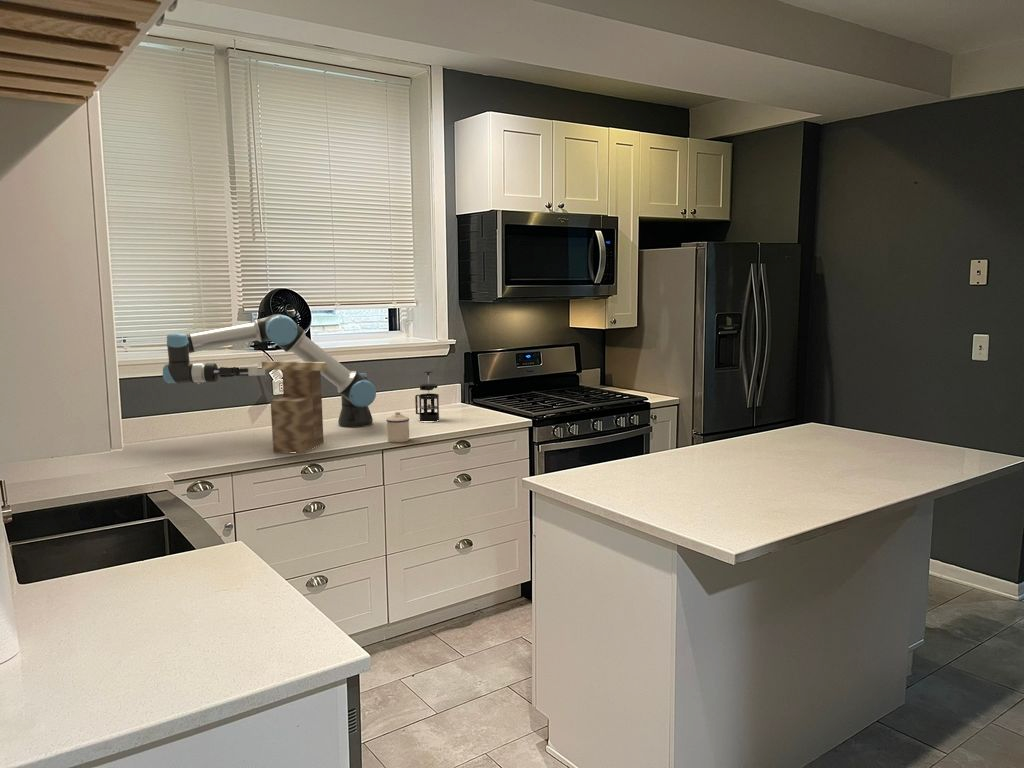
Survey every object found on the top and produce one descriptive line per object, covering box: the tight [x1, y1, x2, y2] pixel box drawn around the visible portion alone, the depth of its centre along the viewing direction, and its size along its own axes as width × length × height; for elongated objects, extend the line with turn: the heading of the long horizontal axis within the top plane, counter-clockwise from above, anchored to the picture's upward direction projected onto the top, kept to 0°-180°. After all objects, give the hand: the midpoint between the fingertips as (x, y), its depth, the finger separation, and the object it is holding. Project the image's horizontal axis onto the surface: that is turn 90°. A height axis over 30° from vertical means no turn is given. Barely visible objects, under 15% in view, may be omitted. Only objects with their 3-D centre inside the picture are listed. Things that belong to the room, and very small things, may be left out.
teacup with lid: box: [385, 411, 410, 443], centre depth 304 cm, size 12×9×12 cm
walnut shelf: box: [270, 370, 325, 454], centre depth 289 cm, size 12×18×30 cm, turn 169°
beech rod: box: [261, 360, 327, 371], centre depth 292 cm, size 26×3×3 cm, turn 79°
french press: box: [414, 370, 440, 422], centre depth 343 cm, size 12×9×23 cm
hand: (261, 371), depth 297 cm, fingers open, 13 cm apart
